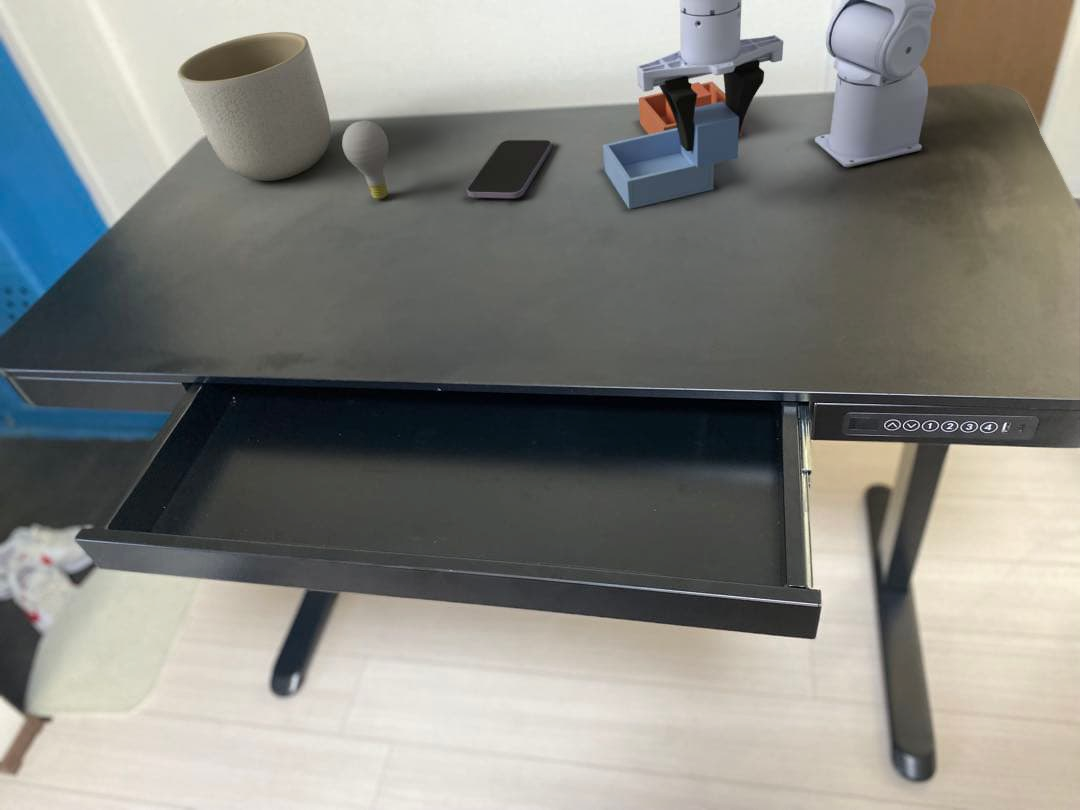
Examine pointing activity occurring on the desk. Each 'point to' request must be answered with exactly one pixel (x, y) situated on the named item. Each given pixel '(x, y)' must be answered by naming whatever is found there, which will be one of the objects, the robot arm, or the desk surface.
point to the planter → (260, 104)
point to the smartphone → (510, 169)
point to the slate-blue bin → (654, 169)
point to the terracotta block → (701, 100)
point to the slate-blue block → (714, 135)
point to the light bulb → (368, 153)
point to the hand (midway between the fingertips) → (709, 142)
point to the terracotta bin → (655, 109)
